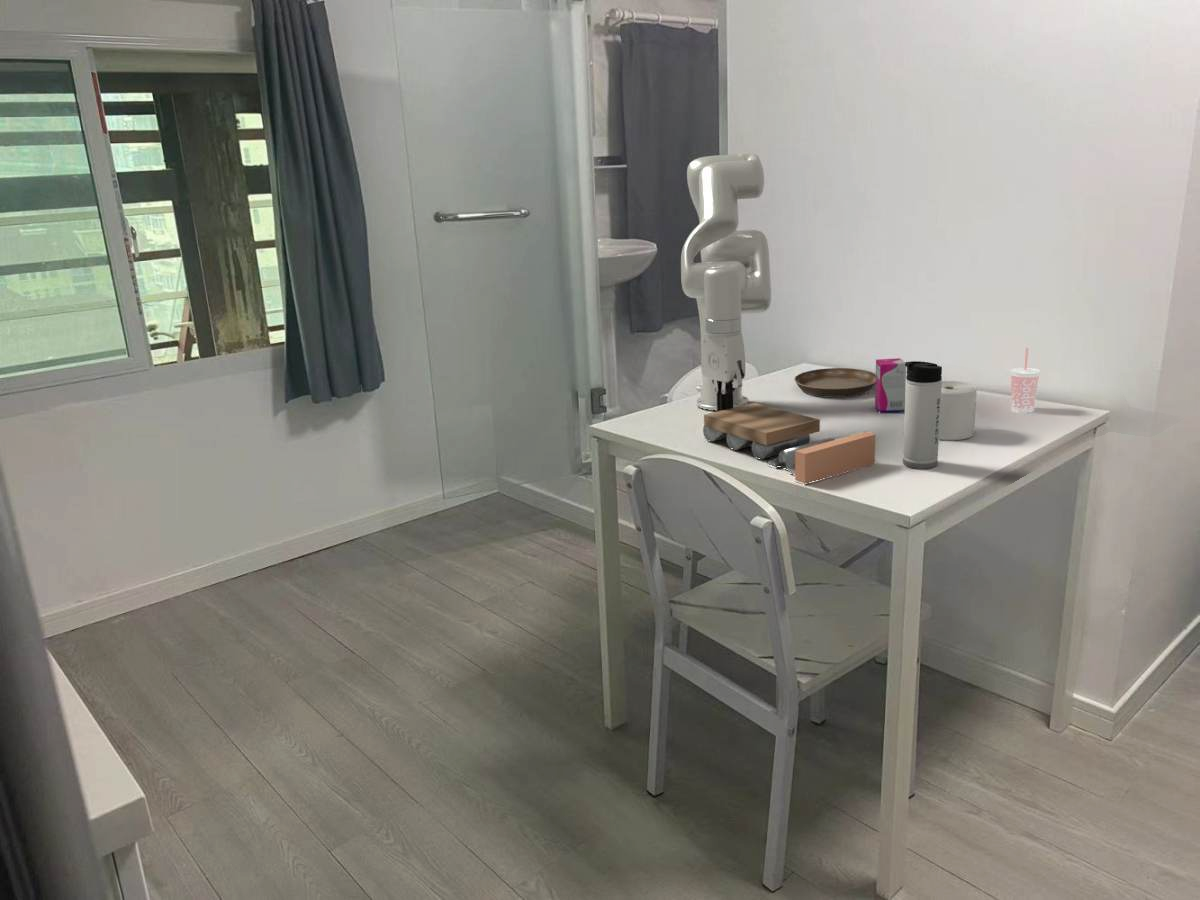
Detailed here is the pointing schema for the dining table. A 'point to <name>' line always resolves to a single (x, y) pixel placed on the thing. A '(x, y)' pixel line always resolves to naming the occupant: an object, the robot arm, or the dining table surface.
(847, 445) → the bar
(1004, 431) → the dining table surface
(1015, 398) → the beverage cup
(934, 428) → the travel mug
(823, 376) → the plant saucer
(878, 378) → the supplement box
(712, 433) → the rear roller
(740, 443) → the middle roller
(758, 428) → the slab
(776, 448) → the cylinder
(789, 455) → the roller
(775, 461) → the cradle
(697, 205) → the robot arm
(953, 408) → the toilet tissue
